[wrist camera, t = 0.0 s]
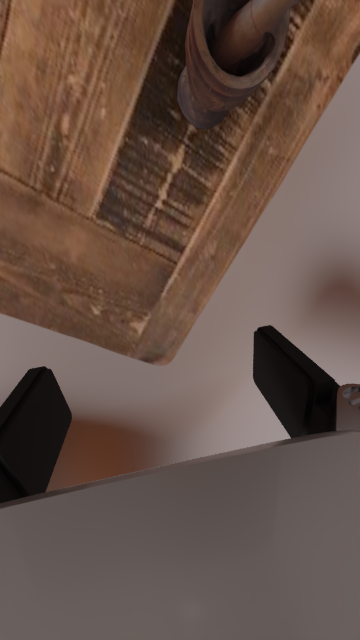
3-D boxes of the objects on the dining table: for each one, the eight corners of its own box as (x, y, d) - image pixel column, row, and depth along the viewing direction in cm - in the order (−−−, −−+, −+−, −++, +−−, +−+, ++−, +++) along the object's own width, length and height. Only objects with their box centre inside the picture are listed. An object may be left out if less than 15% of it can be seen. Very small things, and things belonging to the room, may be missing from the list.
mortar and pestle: (227, 8, 28) (381, -381, 10) (265, 81, 31) (431, -107, 13) (161, 90, 30) (185, -102, 12) (202, 149, 33) (271, 70, 15)
